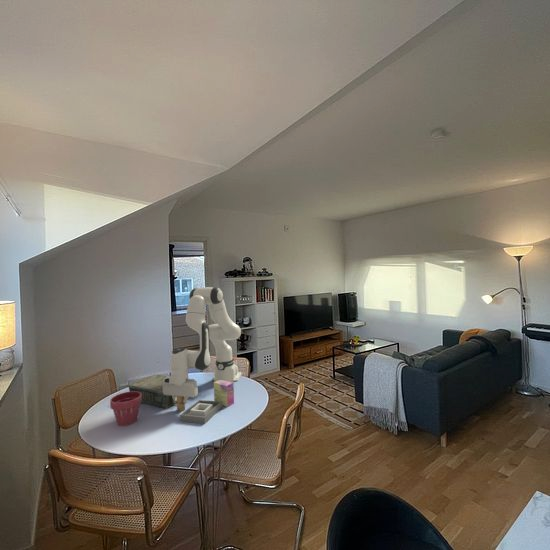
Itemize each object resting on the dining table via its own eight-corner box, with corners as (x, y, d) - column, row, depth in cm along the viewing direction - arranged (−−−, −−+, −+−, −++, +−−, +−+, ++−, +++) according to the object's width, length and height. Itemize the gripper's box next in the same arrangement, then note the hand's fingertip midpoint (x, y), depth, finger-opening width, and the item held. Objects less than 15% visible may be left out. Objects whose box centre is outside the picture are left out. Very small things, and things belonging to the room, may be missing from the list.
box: (234, 403, 163) (233, 382, 163) (227, 407, 158) (226, 385, 158) (221, 399, 169) (220, 379, 169) (214, 403, 164) (213, 382, 164)
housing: (199, 405, 162) (199, 398, 162) (221, 407, 158) (221, 400, 158) (180, 420, 145) (180, 413, 145) (205, 423, 141) (204, 416, 141)
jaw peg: (180, 407, 160) (179, 393, 160) (186, 408, 159) (185, 393, 159) (175, 411, 156) (175, 396, 156) (182, 411, 155) (181, 396, 155)
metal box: (165, 410, 158) (165, 392, 158) (127, 401, 173) (126, 384, 173) (193, 395, 177) (192, 379, 177) (156, 388, 192) (156, 373, 192)
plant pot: (104, 428, 141) (103, 402, 141) (123, 414, 155) (122, 390, 155) (131, 429, 139) (130, 402, 139) (148, 415, 153) (147, 391, 153)
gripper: (199, 377, 158) (200, 402, 158) (167, 375, 164) (168, 399, 163) (193, 381, 152) (194, 407, 152) (160, 379, 157) (161, 404, 157)
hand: (180, 403), depth 158 cm, fingers closed on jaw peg, 4 cm apart
